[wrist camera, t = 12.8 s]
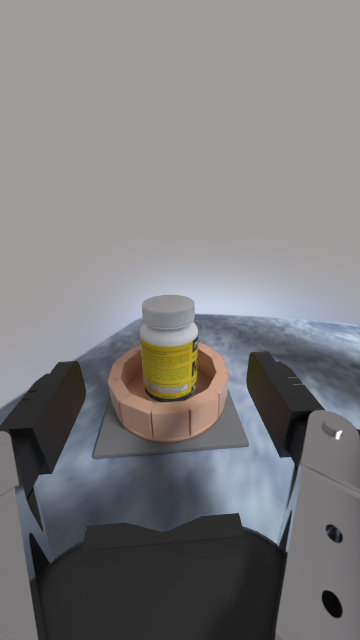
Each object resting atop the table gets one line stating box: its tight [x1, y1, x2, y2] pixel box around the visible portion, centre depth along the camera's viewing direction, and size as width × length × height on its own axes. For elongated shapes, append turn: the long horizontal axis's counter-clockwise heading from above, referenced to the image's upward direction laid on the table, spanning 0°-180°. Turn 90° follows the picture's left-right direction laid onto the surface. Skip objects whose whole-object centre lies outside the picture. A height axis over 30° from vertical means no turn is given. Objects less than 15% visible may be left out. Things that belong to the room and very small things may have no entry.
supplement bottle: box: [140, 295, 198, 403], centre depth 18 cm, size 5×5×8 cm
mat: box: [93, 390, 249, 459], centre depth 21 cm, size 11×11×1 cm
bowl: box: [107, 343, 229, 443], centre depth 20 cm, size 10×10×3 cm
